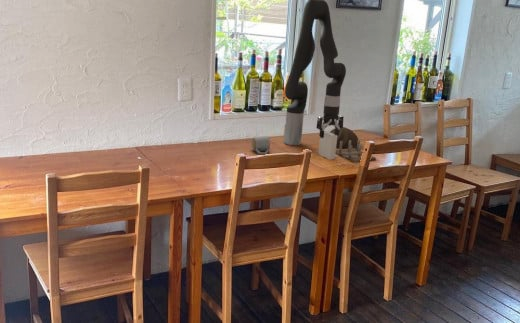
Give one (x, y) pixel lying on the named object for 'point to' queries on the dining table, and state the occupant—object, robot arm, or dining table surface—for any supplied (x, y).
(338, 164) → the dining table surface
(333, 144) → the cream tile
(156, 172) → the dining table surface
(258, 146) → the ceramic mug
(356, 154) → the dish rack
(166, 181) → the dining table surface
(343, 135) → the decorative dome
